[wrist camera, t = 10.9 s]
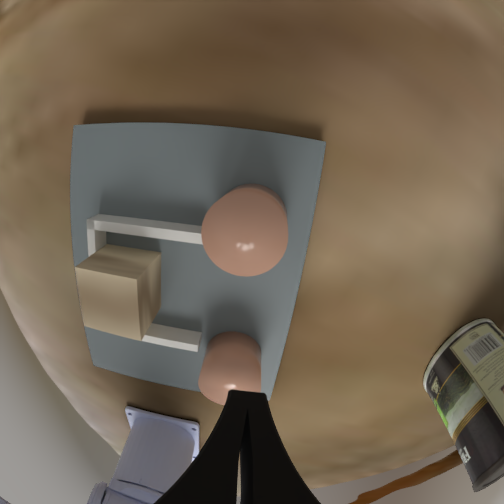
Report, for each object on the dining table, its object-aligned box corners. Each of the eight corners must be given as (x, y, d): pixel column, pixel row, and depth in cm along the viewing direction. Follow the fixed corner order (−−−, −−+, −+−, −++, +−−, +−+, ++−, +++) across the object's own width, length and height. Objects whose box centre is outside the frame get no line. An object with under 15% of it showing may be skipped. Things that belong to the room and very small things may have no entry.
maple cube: (161, 306, 19) (141, 341, 15) (110, 296, 18) (84, 325, 15) (161, 252, 17) (136, 279, 13) (107, 244, 17) (75, 266, 13)
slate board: (269, 392, 22) (269, 400, 21) (98, 358, 22) (93, 365, 21) (322, 142, 16) (326, 141, 15) (82, 125, 15) (73, 125, 14)
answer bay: (201, 338, 19) (197, 351, 18) (106, 319, 19) (98, 329, 18) (209, 227, 17) (204, 234, 15) (98, 213, 16) (86, 219, 15)
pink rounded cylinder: (257, 375, 20) (256, 408, 17) (205, 368, 20) (197, 401, 17) (265, 335, 19) (265, 369, 16) (207, 327, 19) (198, 360, 16)
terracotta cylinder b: (301, 210, 16) (306, 226, 12) (261, 263, 17) (255, 291, 14) (242, 169, 15) (231, 174, 12) (205, 226, 17) (186, 245, 13)
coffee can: (441, 403, 24) (484, 491, 11) (406, 374, 22) (462, 494, 9) (503, 343, 21) (564, 419, 8) (483, 298, 19) (574, 391, 6)
